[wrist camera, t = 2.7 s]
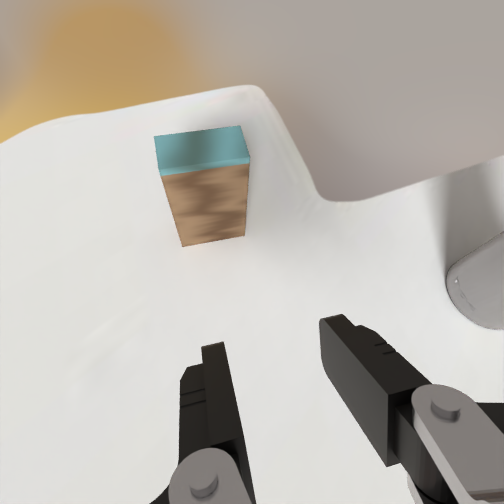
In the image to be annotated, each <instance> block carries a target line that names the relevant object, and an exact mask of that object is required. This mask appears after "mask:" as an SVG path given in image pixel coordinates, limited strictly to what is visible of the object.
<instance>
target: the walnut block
mask: <svg viewBox="0 0 504 504" xmlns="http://www.w3.org/2000/svg"><path fill="white" fill-rule="evenodd" d="M154 140H155V147H156V154H157V161H158V169H159V172H160V176H161V179H162V182H163V185H164V189H165V192H166V195H167V198H168V202H169V205H170V208H171V211H172V215H173V218H174V221H175V224H176V228H177V231H178V234H179V237H180V241H181V244H182V247H185V246H190V245H196V244H201V243H207V242H212V241H218V240H223V239H229V238H234V237H240V236H245V222H246V207H247V193H248V179H249V164H250V155H249V152H248V149H247V146H246V143H245V139H244V136H243V133H242V130H241V127H240V126H233V127H225V128H217V129H209V130H201V131H193V132H185V133H177V134H169V135H161V136H154Z"/></svg>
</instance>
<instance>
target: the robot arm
mask: <svg viewBox="0 0 504 504" xmlns="http://www.w3.org/2000/svg"><path fill="white" fill-rule="evenodd" d="M447 289H448V293H449V295H450V297H451V300H452V301H453V303H454V304H455V306H456V307H457V308H458V309H459V311H460V312H461V313H462V314H463V315H464V316H466V317H467V318H468V319H469V320H471V321H473V322H474V323H476V324H478V325H480V326H483V327H485V328H489V329H495V330H497V329H504V232H502V233H500V234H499V235H497V236H496V237H494V238H493V239H491V240H490V241H488V242H487V243H485V244H484V245H482V246H481V247H479V248H477V249H476V250H474V251H473V252H471V253H470V254H468V255H467V256H465V257H464V258H462V259H461V260H459V261H457V262H456V263H455V264H454V265H453V266H451V268H450V270H449V271H448V275H447ZM319 330H320V346H321V359H322V363H323V367H324V370H325V372H326V374H327V376H328V378H329V379H330V381H331V382H332V384H333V385H334V387H335V388H336V390H337V392H338V393H339V395H340V396H341V398H342V399H343V401H344V402H345V404H346V405H347V407H348V409H349V410H350V412H351V413H352V415H353V416H354V418H355V419H356V421H357V422H358V424H359V425H360V427H361V429H362V430H363V432H364V433H365V435H366V436H367V438H368V439H369V441H370V442H371V444H372V445H373V447H374V449H375V450H376V452H377V453H378V455H379V456H380V458H381V459H382V461H383V462H384V464H385V466H386V467H389V466H392V465H395V464H398V463H401V464H402V465H403V467H404V468H405V470H406V471H407V473H408V475H407V483H408V488H409V490H410V493H411V495H412V497H413V499H414V502H415V504H504V403H478V402H474V401H473V400H472V399H471V398H470V397H469V396H467V395H466V394H464V393H462V392H460V391H458V390H456V389H454V388H451V387H448V386H444V385H437V384H432V383H431V382H430V381H429V380H428V379H426V378H425V377H424V376H423V375H422V374H421V373H420V372H419V371H418V370H417V369H416V368H415V367H413V366H412V365H411V364H410V363H409V362H408V361H407V360H406V359H405V358H404V357H403V356H401V355H400V354H399V353H398V352H396V350H395V349H394V348H393V347H392V346H391V345H390V344H387V342H386V341H385V340H384V339H383V338H382V337H381V336H380V335H379V334H378V333H377V332H375V331H373V330H371V329H369V328H367V327H364V326H362V325H359V326H354V325H353V324H352V323H351V322H350V321H349V320H348V319H347V318H346V317H345V316H344V315H343V314H339V315H335V316H331V317H326V318H322V319H320V321H319ZM201 350H202V361H203V363H202V364H198V365H194V366H190V367H187V368H186V370H185V372H184V374H183V376H182V378H181V380H180V416H179V461H178V466H177V468H176V470H175V471H174V473H173V475H172V478H171V480H170V484H169V485H168V487H167V488H166V489H165V490H164V491H163V493H162V494H161V495H160V496H158V497H157V498H156V499H155V500H154V501H153V502H151V503H150V504H256V500H255V494H254V489H253V483H252V478H251V472H250V467H249V462H248V456H247V451H246V445H245V440H244V435H243V430H242V425H241V420H240V416H239V411H238V406H237V402H236V397H235V392H234V388H233V383H232V378H231V374H230V369H229V364H228V360H227V355H226V350H225V345H224V342H219V343H215V344H211V345H207V346H202V347H201Z"/></svg>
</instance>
